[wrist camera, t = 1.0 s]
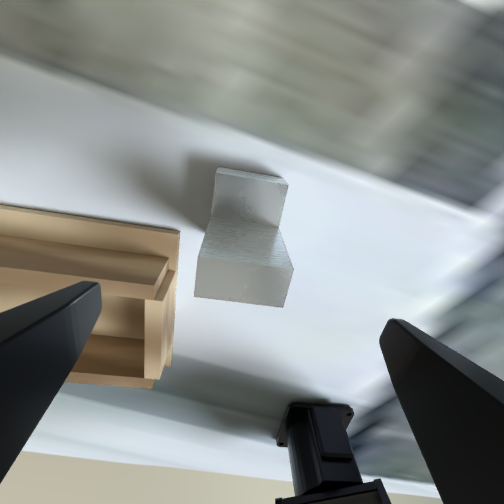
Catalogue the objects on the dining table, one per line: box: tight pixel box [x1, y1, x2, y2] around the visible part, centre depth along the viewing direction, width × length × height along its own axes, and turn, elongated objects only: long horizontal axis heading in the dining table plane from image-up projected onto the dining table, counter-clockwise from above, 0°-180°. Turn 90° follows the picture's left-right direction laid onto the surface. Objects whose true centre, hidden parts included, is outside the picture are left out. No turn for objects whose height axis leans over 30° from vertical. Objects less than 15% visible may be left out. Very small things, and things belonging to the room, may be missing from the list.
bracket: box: [194, 167, 294, 308], centre depth 14 cm, size 4×4×7 cm
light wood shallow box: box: [0, 205, 180, 389], centre depth 18 cm, size 12×15×4 cm
